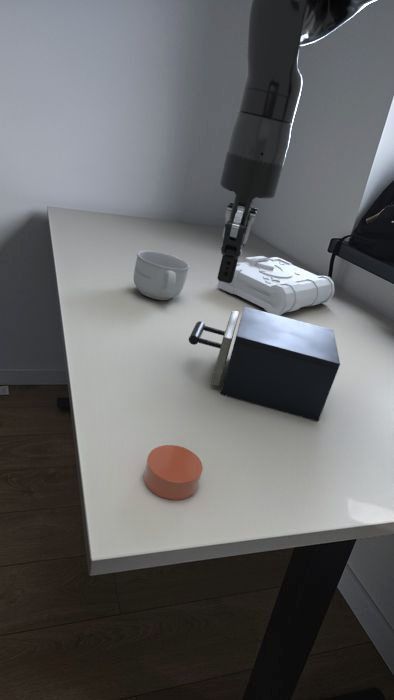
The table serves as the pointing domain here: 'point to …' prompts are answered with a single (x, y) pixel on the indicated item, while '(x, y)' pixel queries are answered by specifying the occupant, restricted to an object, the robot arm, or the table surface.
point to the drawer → (223, 347)
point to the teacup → (159, 274)
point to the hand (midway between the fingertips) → (224, 280)
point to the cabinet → (282, 364)
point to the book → (278, 285)
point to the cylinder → (172, 472)
